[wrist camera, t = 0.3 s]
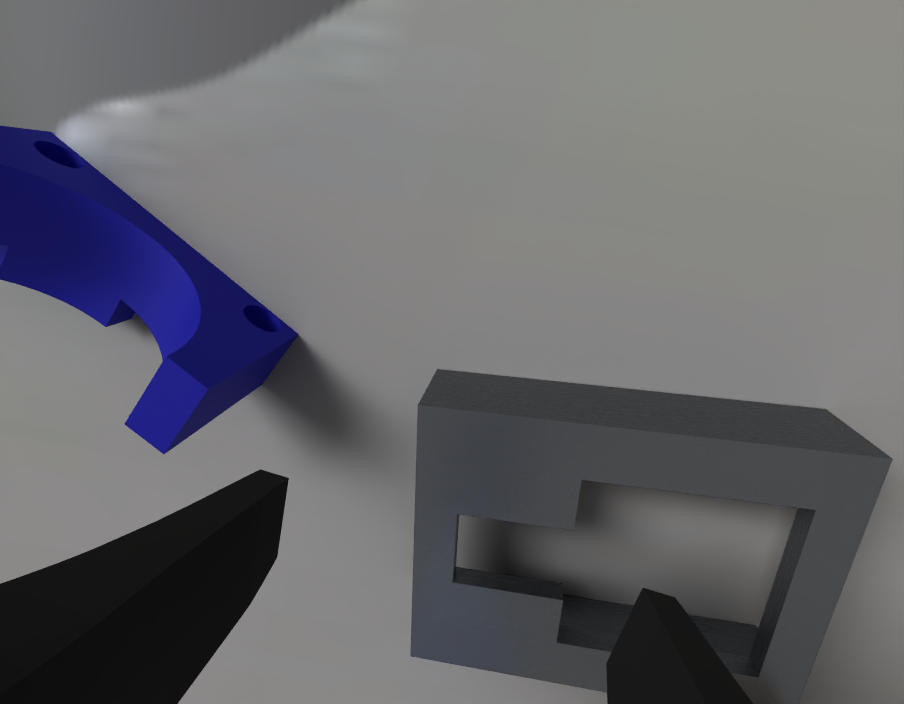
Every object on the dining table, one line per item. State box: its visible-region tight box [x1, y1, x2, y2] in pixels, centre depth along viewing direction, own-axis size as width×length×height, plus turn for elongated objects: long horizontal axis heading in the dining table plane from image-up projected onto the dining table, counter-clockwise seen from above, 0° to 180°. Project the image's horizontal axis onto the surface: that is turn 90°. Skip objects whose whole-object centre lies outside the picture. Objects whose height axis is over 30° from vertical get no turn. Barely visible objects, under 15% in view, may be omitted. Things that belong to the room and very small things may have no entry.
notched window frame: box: [411, 369, 892, 704], centre depth 18 cm, size 11×14×3 cm
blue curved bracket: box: [0, 126, 298, 454], centre depth 17 cm, size 12×4×6 cm, turn 51°
